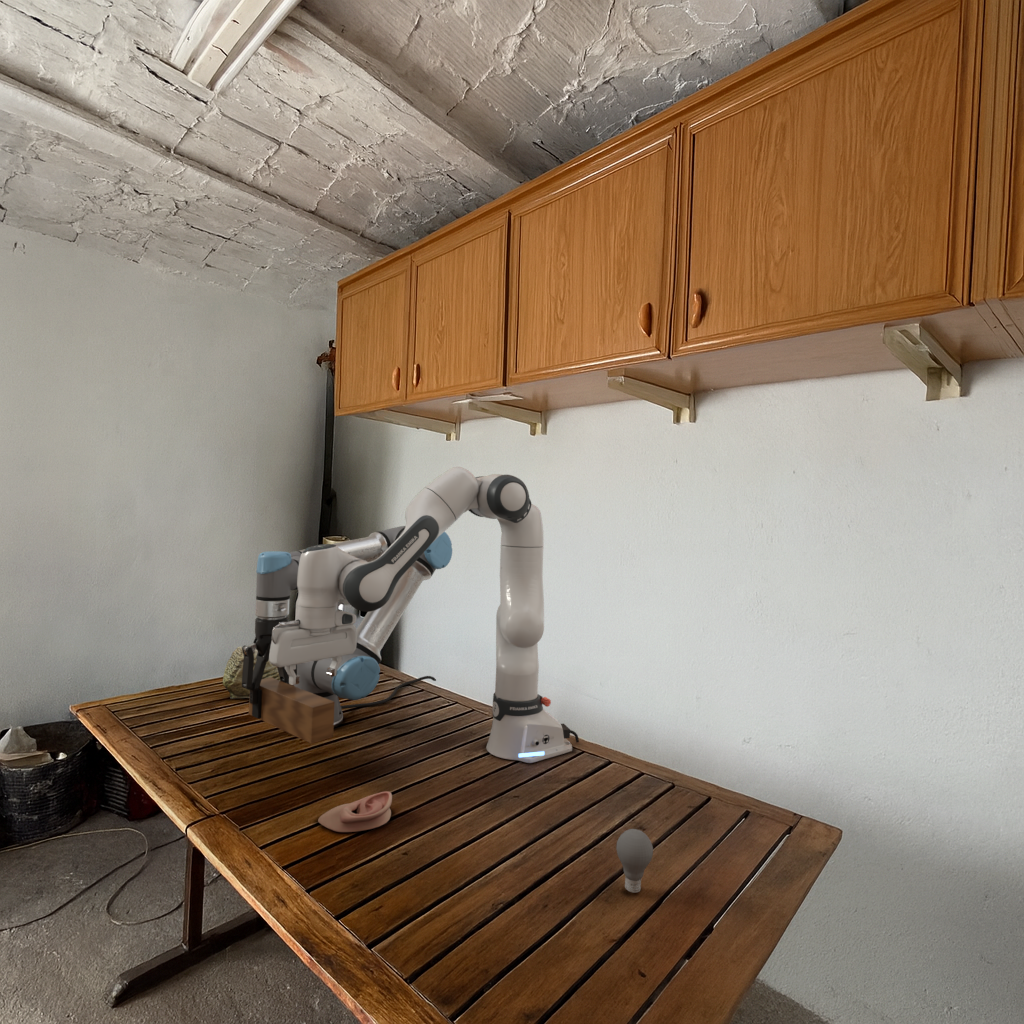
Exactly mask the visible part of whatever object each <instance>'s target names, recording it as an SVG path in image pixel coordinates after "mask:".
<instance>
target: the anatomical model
mask: <svg viewBox="0 0 1024 1024" xmlns="http://www.w3.org/2000/svg"><path fill="white" fill-rule="evenodd" d="M392 803H393V794H392V792H391V791H380V792H376V793H374V794H371V795H367V796H366V797H362V798H360V799H358V800H355V801H352V802H350V803H344V804H340V805H337V806H335V807H333V808H331V809H329V810H327V811H326V812H324V813H322V814H321V815H320V816H319V817H318V820H317V821H318V823H319V824H320V825H321V826H323V827H325V828H326V829H328V830H331V831H333V832H337V833H352V832H355V833H356V832H362V831H367V830H372V829H376V828H379V827H382V826H383V825H386V824H387V823H388V822H389V821H390V819H391V816H392V810H391V808H390V807H391V805H392Z"/></svg>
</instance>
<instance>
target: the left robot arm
mask: <svg viewBox="0 0 1024 1024" xmlns="http://www.w3.org/2000/svg"><path fill="white" fill-rule="evenodd" d="M405 527H406V525H402V526H396V527H395V526H394V527H390V528H386V529H383V530H379V531H374V532H371V533H370V534H369V535H368V536H366V537H361V538H355V539H349V540H345V541H341V542H335V543H333V544H334V545H336V546H337V547H338V548H339V549H341V550H342V551H344V552H346V553H348V554H350V555H352V556H354V557H356V558H359V559H362V560H365V561H367V562H372V561H374V560H376V559H377V558H379V557H380V556H381V555H382V554H383V553H384V552H385V551H386V550H387V549H388V548H389V547H390V546H391V545H392V544H393V543H394V542H395V541H396V540H397V539H398V538H399V537H400V535H401V534H402V533H403V531H404V529H405ZM452 545H453V544H452V540H451V538H450V536H449V535H448V533H447V532H446V531H445V532H443V533H442V534H441V535H440V536H439V537H438V538H437V539H436V540H435V541H434V542H433V543H432V544H431V545H430V546H429V547H428V548H427V549H426V551H425V552H424V553H423V554H422V555H421V556H420V557H419V558H418V559H417V560H416V561H415V562H414V563H413V565H412V566H411V567H410V568H409V569H408V570H407V571H406V572H405V573H404V574H403V575H402V577H401V578H400V579H399V581H398V582H397V584H396V586H395V588H394V590H393V593H392V595H391V597H390V599H389V600H388V601H387V603H386V604H385V605H384V606H382V607H381V608H379V609H377V610H374V611H370V612H366V614H365V616H364V617H363V618H362V620H361V622H360V624H359V625H358V626H357V627H356V631H357V645H356V650H355V651H354V653H353V654H349V655H344V656H342V660H341V662H340V664H339V666H338V668H337V672H336V676H333V677H329V676H327V675H326V673H327V668H329V667H330V665H331V663H332V661H333V660H332V659H331V658H328V659H322V660H317V661H312V662H306V663H301V664H296V669H293V670H294V672H295V674H296V675H298V676H300V679H299V681H300V682H299V684H295V685H293V686H295V687H297V688H300V689H303V690H305V691H308V692H310V693H313V694H316V695H318V696H321V697H323V698H326V699H328V700H331V701H334V729H335V728H337V727H339V726H340V725H342V723H343V722H344V714H343V710H345V709H355V708H364V707H373V706H380V705H383V704H386V703H388V702H390V700H392V699H393V698H394V697H395V696H396V694H397V692H398V690H399V689H401V688H403V687H405V686H408V685H411V684H412V685H413V684H415V683H417V682H420V681H424V680H428V679H429V680H432V681H433V682H436V681H437V679H436V678H435V677H434V676H431V675H425V676H421V677H418V678H416V679H413V680H409V681H405V682H403V683H400V684H399V685H397V686H395V688H394V690H393V692H392V693H391V694H390V695H389V696H388V697H387V698H384V699H382V700H378V701H373V702H363V703H355V704H354V703H353V704H344V705H341V702H340V699H344V700H348V701H349V700H350V701H358V700H361V699H365V698H366V697H367V696H369V695H370V694H371V693H372V692H373V691H374V690H375V688H376V687H377V685H378V684H379V681H380V677H381V675H380V673H381V667H380V664H381V661H382V656H381V651H382V649H383V647H384V645H385V644H386V642H387V640H388V639H389V637H390V636H391V634H392V633H393V631H394V630H395V627H396V626H397V624H398V623H399V621H400V620H401V618H402V616H403V614H404V612H405V611H406V609H407V608H408V607H409V604H410V603H411V602H412V599H413V598H414V596H415V594H416V593H417V591H418V589H419V588H420V586H421V585H422V583H423V581H427V580H431V578H432V577H433V575H434V573H435V572H436V570H442V569H444V568H446V567H447V566H448V565H449V563H450V562H451V560H452V556H453V546H452ZM305 549H306V548H304V549H300V550H295V551H283V550H282V551H280V550H277V551H273V550H272V551H270V550H269V551H268V550H267V551H263V552H261V553H259V554H258V556H257V563H256V571H255V572H256V587H255V588H256V591H255V592H256V593H255V596H256V597H255V613H254V614H255V616H256V618H255V620H254V634H255V636H254V639H253V642H252V643H251V644H248V645H242V646H241V647H242V651H243V655H244V660H243V673H242V687H243V688H245V689H248V690H250V700H248V702H249V701H250V703H251V704H252V715H251V716H252V717H254V718H256V719H258V720H260V719H259V718H261V706H262V690H260V689H259V687H260V683H261V680H262V676H263V673H264V669H265V666H266V663H267V662H268V660H269V653H270V647H271V642H272V630H273V629H274V627H275V626H276V625H278V624H279V623H280V622H289V621H290V618H289V617H288V616H289V615H290V599H291V591H296V590H297V591H298V587H297V576H298V567H299V561H300V557H301V554H302V552H303V551H304V550H305ZM277 628H279V627H277ZM255 649H257V651H258V653H257V656H256V659H257V660H256V664H255V667H254V670H253V665H254V653H255ZM263 656H264V657H263ZM276 668H277V669H278V673H279V677H280V681H282V682H285V683H287V684H289V675H288V674H287V672H286V670H285V667H277V666H276ZM339 698H340V699H339Z"/></svg>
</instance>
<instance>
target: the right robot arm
mask: <svg viewBox="0 0 1024 1024" xmlns="http://www.w3.org/2000/svg"><path fill="white" fill-rule="evenodd" d="M467 511H468V512H470V513H471V514H473V515H474V516H476V517H480V518H485V519H491V520H497V522H498V523H499V526H500V531H501V532H500V533H501V535H500V536H501V537H500V551H499V553H500V555H499V556H500V557H499V592H500V593H499V595H500V596H499V602H500V603H499V606H498V607H497V610H496V618H495V619H496V620H495V625H496V626H495V666H496V667H495V682H494V683H495V685H494V693H493V696H492V707H491V708H492V709H491V710H492V722H491V729H490V733H489V736H488V741H487V744H486V746H485V749H486V751H487V752H488V753H489V754H490V755H493V756H494V757H497V758H499V759H500V758H501V759H505V760H509V761H510V760H511V761H519V762H523V763H527V764H533V763H536V762H540V761H543V760H546V759H551V758H553V757H557V756H560V755H563V754H567V753H571V752H573V745H572V743H571V741H570V740H568V739H570V738H571V734H572V735H573V736H574V738H575V743H576V744H577V743H579V742H580V740H579V735H578V733H577V732H575V730H572V729H570V728H569V727H568V726H567V725H566V724H565V723H561V722H560V721H559V720H558V719H556V717H554V716H553V715H552V714H551V713H550V712H548V711H547V710H546V709H545V708H544V707H547V708H548V707H550V706H551V704H552V700H551V699H550V698H548V697H546V696H542V695H540V694H539V672H540V663H539V648H538V646H539V645H538V644H539V642H540V641H541V639H542V637H543V636H544V632H545V598H544V597H545V596H544V580H543V579H544V577H543V575H544V543H545V539H544V525H543V524H544V523H543V517H542V512H541V510H540V509H539V507H537V505H535V504H533V503H532V499H530V492H529V490H528V488H527V486H526V484H525V482H524V481H523V480H521V478H519V477H517V476H515V475H511V474H499V473H497V474H496V473H494V474H489V475H482V476H474V474H473V473H472V472H471V471H469V470H468V469H467V468H464V467H461V466H454V467H451V468H449V469H447V470H446V471H444V472H443V473H441V474H440V475H438V476H437V477H435V478H434V479H433V480H431V482H429V483H428V484H427V485H425V486H424V487H423V488H422V489H421V490H420V491H419V492H418V493H417V494H416V495H415V496H414V497H413V498H412V500H411V501H410V502H409V503H408V504H407V506H406V507H405V512H404V513H405V514H404V518H405V519H404V520H405V526H406V527H405V529H404V531H403V533H402V534H401V535H400V537H399V538H398V539H397V540H396V541H395V542H394V543H393V544H392V545H391V546H390V547H389V548H388V549H387V550H386V551H385V552H384V553H383V554H382V555H381V556H380V557H379V558H377V559H376V560H374V561H372V562H367V561H365V560H362V559H359V558H356V557H354V556H352V555H350V554H348V553H346V552H344V551H342V550H341V549H339V548H338V547H337V546H336V545H334V544H335V543H325V544H324V543H322V544H315V545H311V546H308V547H306V548H304V549H305V550H304V549H303V550H304V551H303V552H302V554H301V557H300V561H299V567H298V576H297V587H298V590H297V593H298V594H297V598H296V602H295V614H294V615H295V617H294V620H289V622H280V623H279V624H278V625H276V626H275V627H274V629H273V630H272V642H271V647H270V653H269V661H270V663H271V664H272V665H274V666H276V668H277V667H285V670H286V672H287V674H288V675H289V684H290V685H292V686H294V685H295V684H299V682H300V681H299V679H300V676H298V675H296V674H295V672H294V670H293V669H296V664H301V663H306V662H312V661H317V660H322V659H328V658H331V659H332V660H333V661H332V663H331V665H330V667H329V668H327V673H326V675H327V676H329V677H333V676H336V672H337V668H338V666H339V664H340V662H341V660H342V656H344V655H349V654H353V653H354V651H355V650H356V645H357V631H356V630H357V627H356V625H355V623H356V622H357V615H356V614H355V613H351V612H349V611H344V610H342V609H339V608H338V606H339V605H338V603H339V601H341V600H346V601H347V602H348V604H349V605H350V606H351V607H352V608H354V609H355V610H357V611H360V612H364V613H365V612H366V613H367V612H370V611H374V610H377V609H379V608H381V607H382V606H384V605H385V604H386V603H387V601H388V600H389V599H390V597H391V595H392V593H393V590H394V588H395V586H396V584H397V582H398V581H399V579H400V578H401V577H402V575H403V574H404V573H405V572H406V571H407V570H408V569H409V568H410V567H411V566H412V565H413V563H414V562H415V561H416V560H417V559H418V558H419V557H420V556H421V555H422V554H423V553H424V552H425V551H426V549H427V548H428V547H429V546H430V545H431V544H432V543H433V542H434V541H435V540H436V539H437V538H438V537H439V536H440V535H441V534H442V533H443V532H446V531H447V530H448V529H450V527H451V526H452V525H454V524H455V522H457V521H458V519H459V518H461V517H462V515H463V514H465V513H466V512H467ZM277 627H279V628H277Z"/></svg>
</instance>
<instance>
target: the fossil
mask: <svg viewBox="0 0 1024 1024" xmlns="http://www.w3.org/2000/svg"><path fill="white" fill-rule="evenodd" d="M242 647H243V646H238V647H237V648H236V649H235V650H233V651H232V653H231V656H230V657H229V659H228V660H227V663H226V666H225V668H224V671H223V675H222V676H223V677H222V685H223V687H224V688H225V690H226V691H228V693H229V698H230V699H249V692H250V690H248V689H245V688H243V687H242V673H243V660H244V655H243V651H242ZM257 653H258V651H257V649H256V648H255V653H254V665H253V670H254V667H255V664H256V660H257V659H256V656H257ZM263 657H264V656H263ZM270 677H272V678H274V679H277V680H279V681H280V677H279V673H278V669H277V666H274V665H272V664H271V663H270V661H269V660H268V662H267V663H266V666H265V669H264V673H263V676H262V679H265V678H270Z"/></svg>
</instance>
